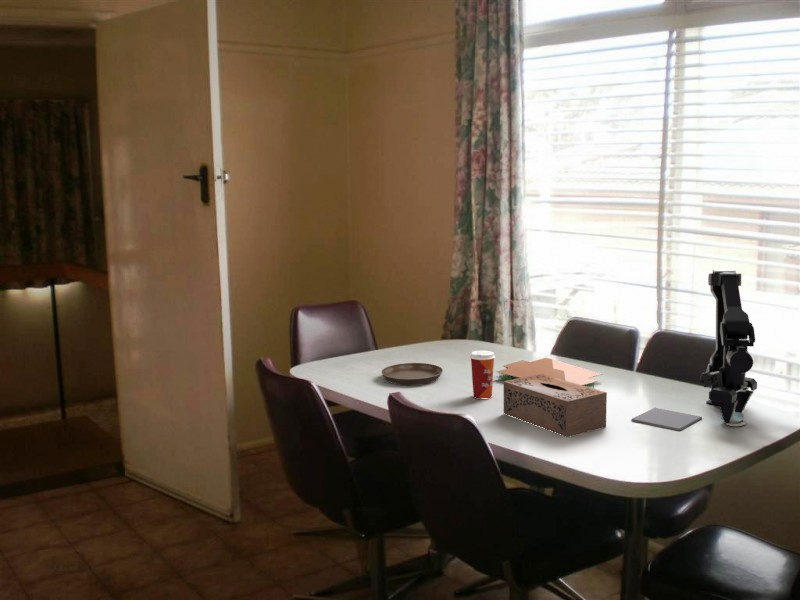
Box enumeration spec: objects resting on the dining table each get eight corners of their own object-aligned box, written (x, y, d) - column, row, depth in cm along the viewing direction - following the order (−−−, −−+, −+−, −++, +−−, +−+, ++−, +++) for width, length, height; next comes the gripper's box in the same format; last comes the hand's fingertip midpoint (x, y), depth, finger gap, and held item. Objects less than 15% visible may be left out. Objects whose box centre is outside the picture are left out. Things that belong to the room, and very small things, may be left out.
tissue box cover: (503, 415, 244) (503, 381, 243) (540, 406, 252) (541, 373, 250) (567, 438, 223) (567, 401, 221) (606, 427, 231) (606, 392, 229)
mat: (654, 409, 245) (654, 407, 245) (701, 418, 236) (701, 416, 236) (631, 420, 235) (631, 418, 235) (679, 430, 226) (679, 428, 226)
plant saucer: (421, 390, 272) (421, 380, 272) (369, 382, 284) (369, 373, 283) (454, 376, 289) (454, 367, 289) (403, 369, 300) (403, 360, 300)
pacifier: (751, 424, 230) (732, 418, 235) (753, 402, 229) (734, 397, 234) (734, 429, 226) (715, 423, 232) (735, 407, 225) (716, 401, 230)
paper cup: (490, 401, 257) (490, 356, 255) (466, 398, 261) (466, 354, 258) (498, 394, 264) (498, 350, 262) (475, 392, 268) (475, 349, 265)
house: (536, 368, 299) (537, 345, 297) (613, 386, 273) (614, 361, 272) (490, 379, 285) (490, 356, 283) (566, 399, 259) (566, 373, 258)
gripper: (719, 353, 241) (716, 406, 243) (690, 366, 227) (688, 422, 230) (758, 359, 233) (756, 413, 236) (732, 372, 220) (729, 430, 222)
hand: (732, 419), depth 231 cm, fingers closed on pacifier, 7 cm apart
